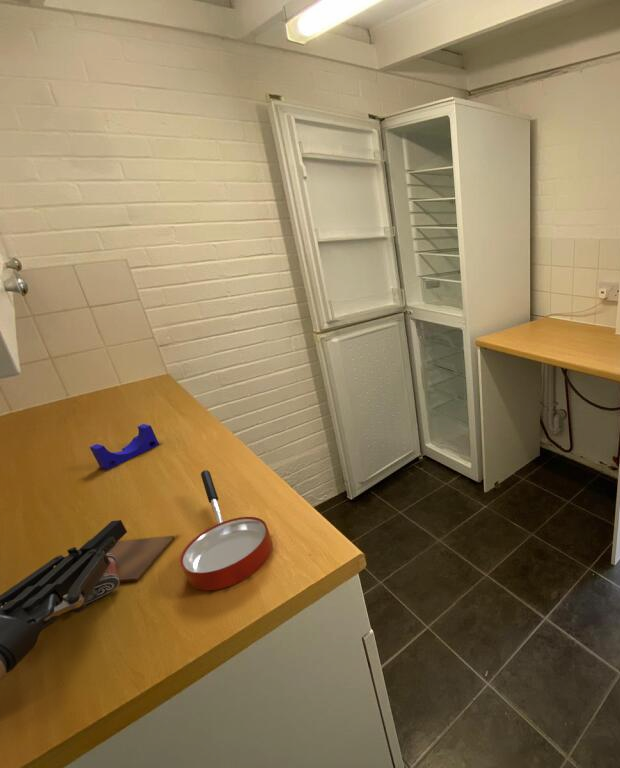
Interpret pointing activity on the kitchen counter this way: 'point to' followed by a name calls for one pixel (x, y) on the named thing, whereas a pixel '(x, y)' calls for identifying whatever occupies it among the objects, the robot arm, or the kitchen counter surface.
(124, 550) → the plate
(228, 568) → the frying pan
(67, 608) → the robot arm
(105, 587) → the lighter
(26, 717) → the kitchen counter surface
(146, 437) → the blue notched block
